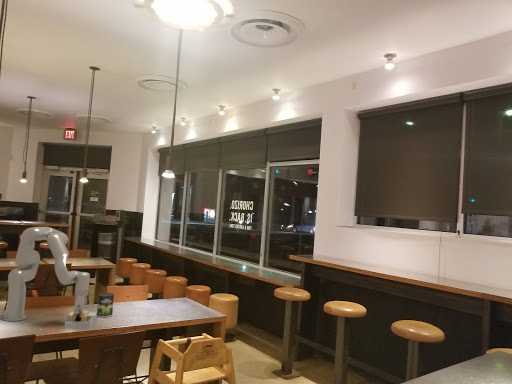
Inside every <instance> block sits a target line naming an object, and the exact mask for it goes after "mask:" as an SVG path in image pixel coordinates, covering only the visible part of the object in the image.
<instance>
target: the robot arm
mask: <svg viewBox="0 0 512 384" xmlns="http://www.w3.org/2000/svg"><path fill="white" fill-rule="evenodd" d="M35 241H46V242H47V245H48V247H49V249H50V251H51V254H52V256H53V259H54V272H55V275H56V277H57V280H58V281H59V283H60V284H62V285H64V286H66V285H67V286H68V285H71V284H74V283H75V288H74V290H75V291H74V296H75V300H74V307H73V312H76V318H75V321H81V313H83V310H86V309H85V308H86V300H87V296H88V295H89V286H90V278H91V277H90V276H91V274H90V273H89V272H85V271H79V270H71V271H69V270H68V268H67V266H66V261H67V259H68V257H69V255H70V253H69V250H68V248H67V246H66V245H67V244H68V241H69V237H68V236H67V234H66V233H64V232H62V231H60V230H58V229H56V228H52V227H49V226H33V227H27V228H25V230H23V232H22V234H21V237H20V241H19V244H18V248H17V252H16V256H15V264H16V266H19V267H16V268H14V269H12V270H11V271H10V272H9V273H8V276H7V278H8V279H7V280H8V294H7V305H6V311H0V317H2V316H3V317H2V320H3V321H6V322H19V321H23V320H25V319H26V318H27V315H26V314H25V307H26V306H25V305H26V297H27V296H26V295H27V287H26V282H30V281H33V279H35V277H36V275H37V272H38V268H39V264H40V261H41V260H40V259H41V256H40V255H41V254H40V253H39V252H38V251H37V250H35V247H36V245H35Z"/></svg>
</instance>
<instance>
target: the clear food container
mask: <svg viewBox="0 0 512 384" xmlns="http://www.w3.org/2000/svg"><path fill="white" fill-rule="evenodd" d="M73 313H74V311H71V312H70V313H69V314H68V315H67V319H66V321H70V315H73ZM83 313H86V314H87V316H94V322H96V320H97V317H98V316H97V311H91V312H90V310H88V309H84V310H83Z"/></svg>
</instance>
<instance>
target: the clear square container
mask: <svg viewBox="0 0 512 384" xmlns="http://www.w3.org/2000/svg"><path fill="white" fill-rule="evenodd" d="M72 316H73V315H70V321H67V320H66V321H64V329H66V330H67V329H68V330H69V329H70V330H71V329H74V330H75V329H78V330H79V329H80V330H81V329H85V330H90V329H91V327H92V326H93V324H94V316H87V321H72Z"/></svg>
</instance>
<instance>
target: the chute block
mask: <svg viewBox="0 0 512 384" xmlns="http://www.w3.org/2000/svg"><path fill="white" fill-rule="evenodd" d="M73 312H74V311H73ZM75 318H76V312H74V313H73V316H72V321H75ZM81 321H87V314H86V313H81Z"/></svg>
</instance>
